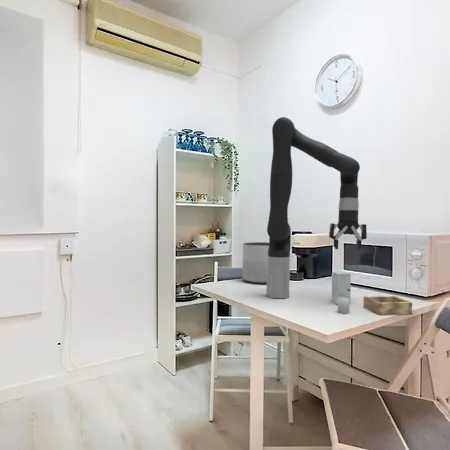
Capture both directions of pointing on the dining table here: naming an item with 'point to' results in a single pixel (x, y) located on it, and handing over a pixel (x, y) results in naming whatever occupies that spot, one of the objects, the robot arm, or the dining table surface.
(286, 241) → the robot arm
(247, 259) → the planter
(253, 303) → the dining table surface
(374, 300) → the oak collar
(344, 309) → the grey stub
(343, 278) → the skincare box
